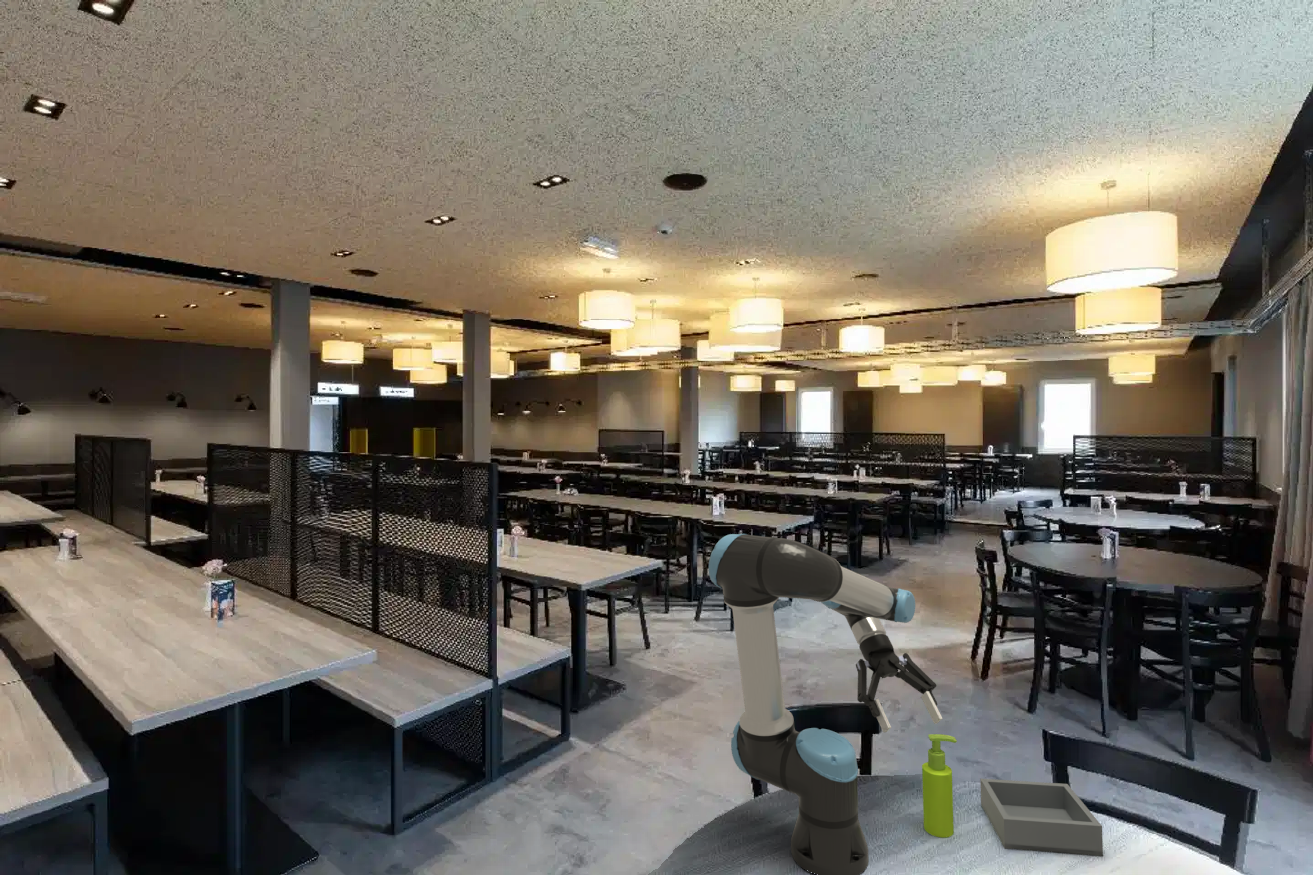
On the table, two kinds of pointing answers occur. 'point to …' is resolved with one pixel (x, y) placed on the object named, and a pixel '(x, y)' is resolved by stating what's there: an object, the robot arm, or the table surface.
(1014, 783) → the crate
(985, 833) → the table surface
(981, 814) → the table surface
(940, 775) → the soap dispenser
